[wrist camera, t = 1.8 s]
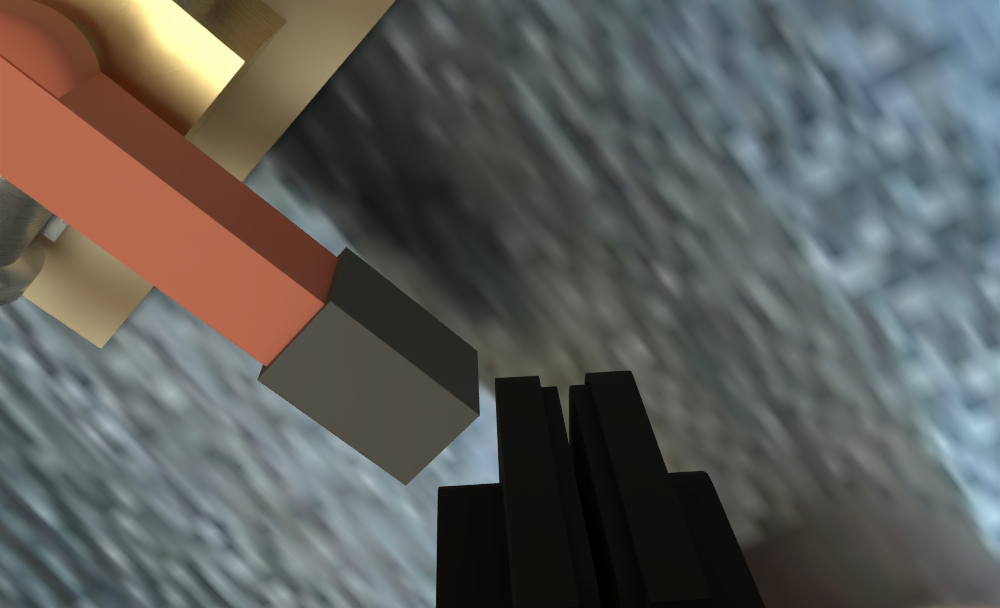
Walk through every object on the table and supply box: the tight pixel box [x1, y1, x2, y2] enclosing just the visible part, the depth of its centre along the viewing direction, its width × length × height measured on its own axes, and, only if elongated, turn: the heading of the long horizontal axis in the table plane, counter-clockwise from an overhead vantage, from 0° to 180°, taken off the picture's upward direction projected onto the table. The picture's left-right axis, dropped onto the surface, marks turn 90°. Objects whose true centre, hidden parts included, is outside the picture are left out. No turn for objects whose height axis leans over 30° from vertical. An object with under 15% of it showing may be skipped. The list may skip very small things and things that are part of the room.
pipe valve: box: [0, 0, 287, 306], centre depth 28 cm, size 18×8×8 cm, turn 137°
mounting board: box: [23, 0, 395, 348], centre depth 32 cm, size 22×12×2 cm, turn 137°
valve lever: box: [0, 0, 480, 485], centre depth 25 cm, size 16×4×4 cm, turn 47°
